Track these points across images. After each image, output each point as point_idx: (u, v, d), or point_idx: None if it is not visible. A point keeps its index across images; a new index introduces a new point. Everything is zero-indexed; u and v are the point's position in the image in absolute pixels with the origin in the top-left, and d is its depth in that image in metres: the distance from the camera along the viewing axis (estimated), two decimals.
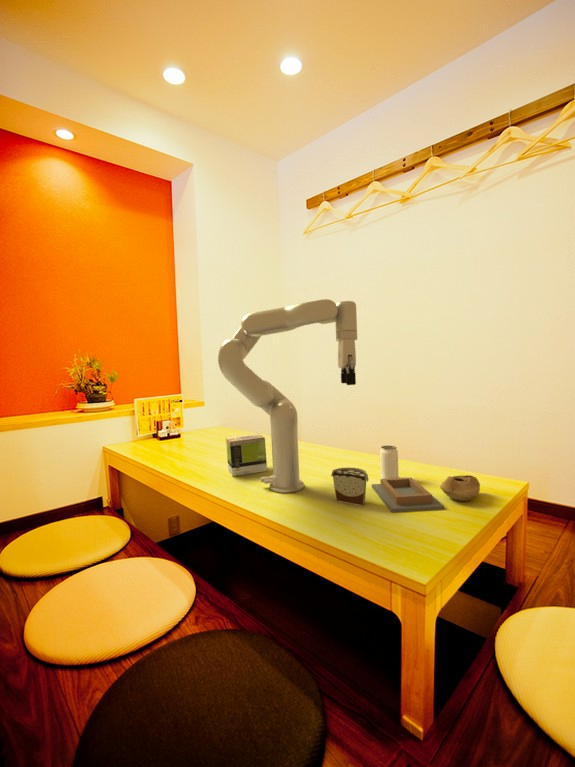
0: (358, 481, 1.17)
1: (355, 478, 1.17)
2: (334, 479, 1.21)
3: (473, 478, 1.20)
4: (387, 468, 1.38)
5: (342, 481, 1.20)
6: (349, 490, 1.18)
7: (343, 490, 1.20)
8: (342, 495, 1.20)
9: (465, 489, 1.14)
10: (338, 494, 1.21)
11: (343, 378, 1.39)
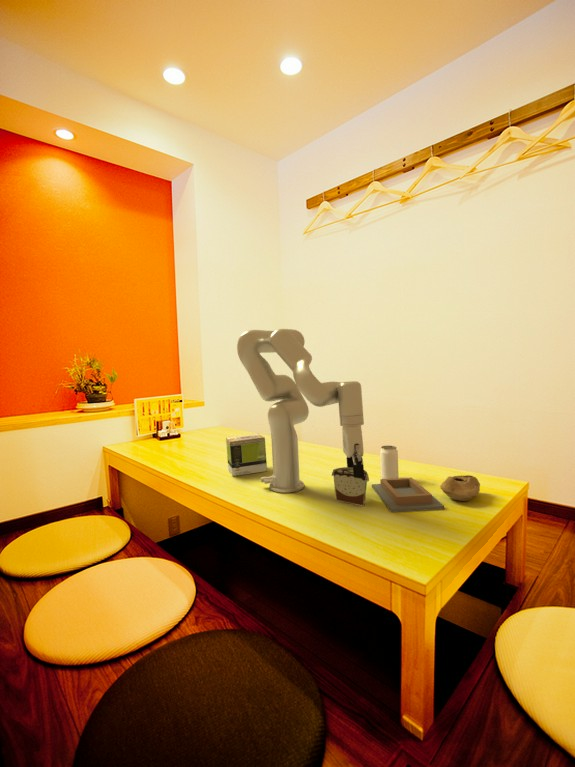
0: (359, 481, 1.17)
1: (356, 478, 1.17)
2: (334, 478, 1.21)
3: (473, 478, 1.20)
4: (387, 468, 1.38)
5: (342, 481, 1.20)
6: (350, 489, 1.18)
7: (343, 490, 1.20)
8: (342, 495, 1.20)
9: (465, 489, 1.14)
10: (338, 494, 1.21)
11: (349, 463, 1.24)
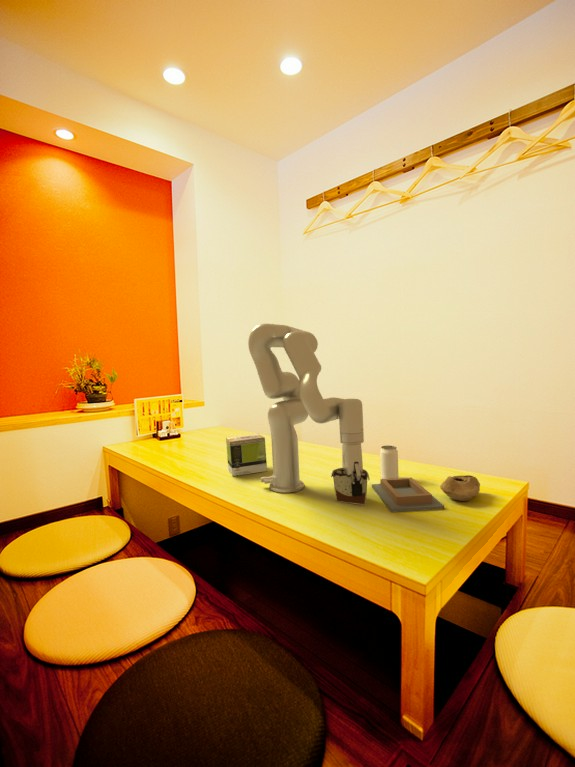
0: None
1: None
2: (334, 479, 1.21)
3: (473, 478, 1.20)
4: (387, 468, 1.38)
5: (342, 481, 1.20)
6: (350, 489, 1.19)
7: (344, 490, 1.20)
8: (342, 495, 1.20)
9: (465, 489, 1.14)
10: (338, 494, 1.20)
11: None
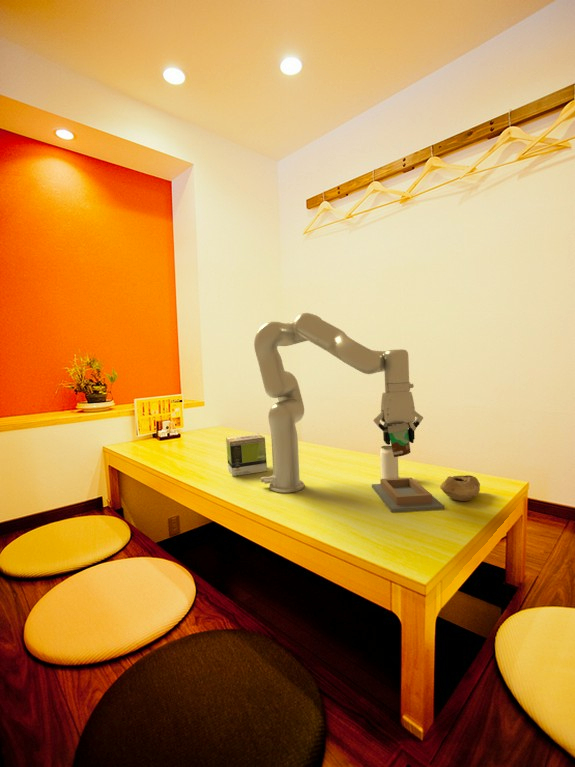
0: None
1: None
2: None
3: (473, 478, 1.20)
4: (387, 468, 1.38)
5: None
6: None
7: None
8: None
9: (465, 489, 1.14)
10: None
11: None
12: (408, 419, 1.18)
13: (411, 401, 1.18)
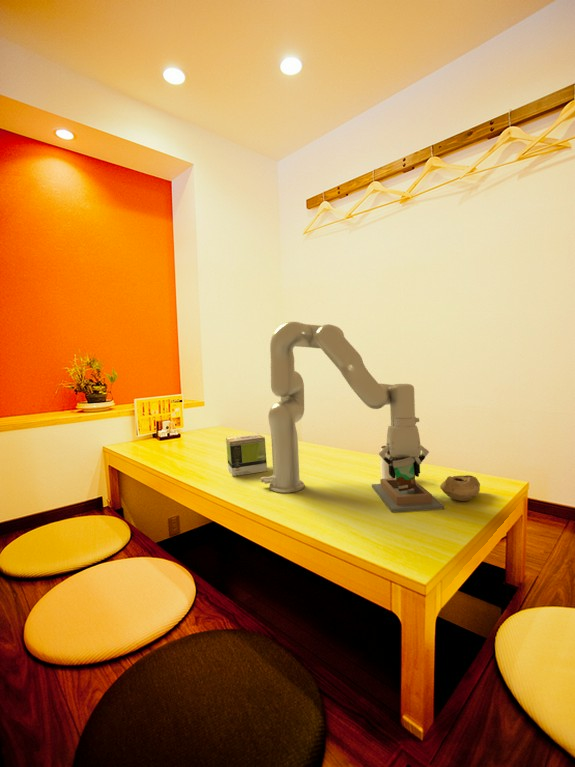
0: None
1: None
2: None
3: (473, 478, 1.20)
4: (387, 468, 1.38)
5: None
6: None
7: None
8: None
9: (465, 489, 1.14)
10: None
11: None
12: (413, 454, 1.19)
13: (417, 436, 1.19)
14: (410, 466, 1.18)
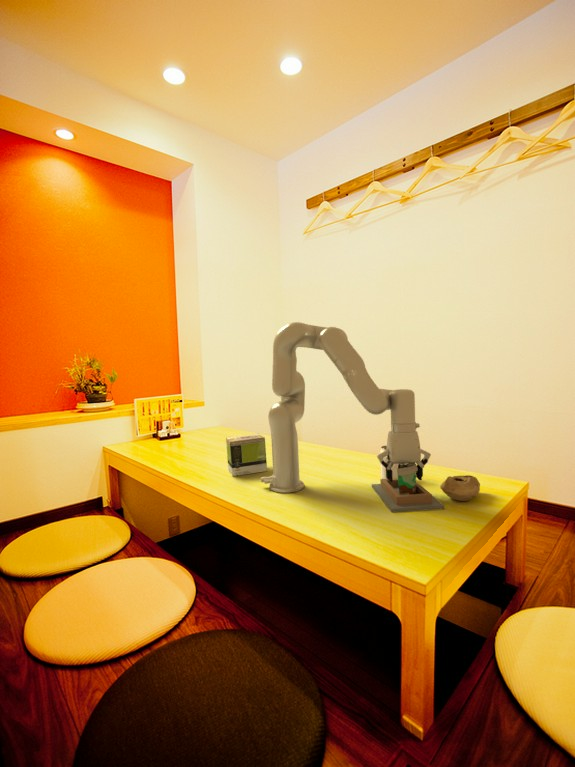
0: None
1: None
2: None
3: (473, 478, 1.20)
4: None
5: None
6: None
7: None
8: None
9: (465, 489, 1.14)
10: None
11: (416, 472, 1.22)
12: (413, 459, 1.19)
13: (417, 441, 1.19)
14: (413, 474, 1.18)
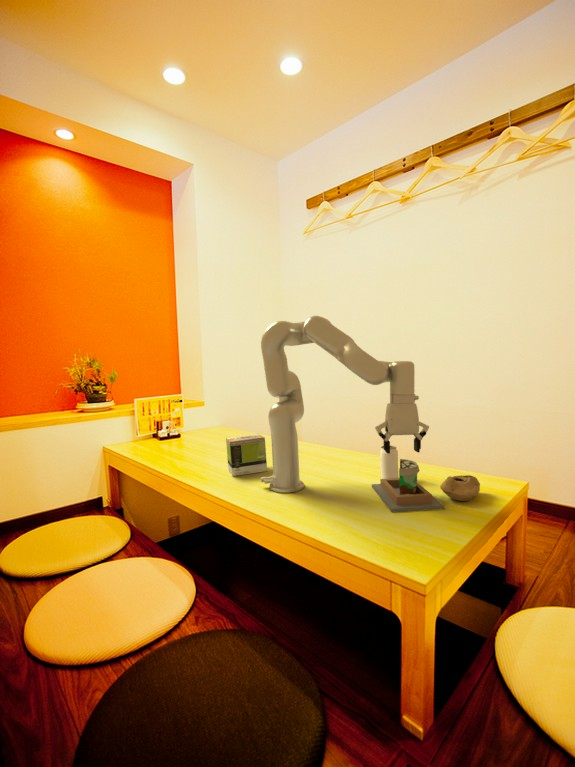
0: None
1: None
2: None
3: (473, 478, 1.20)
4: (387, 468, 1.38)
5: None
6: None
7: None
8: None
9: (465, 489, 1.14)
10: None
11: (414, 445, 1.22)
12: (411, 431, 1.19)
13: (415, 413, 1.18)
14: (415, 475, 1.18)
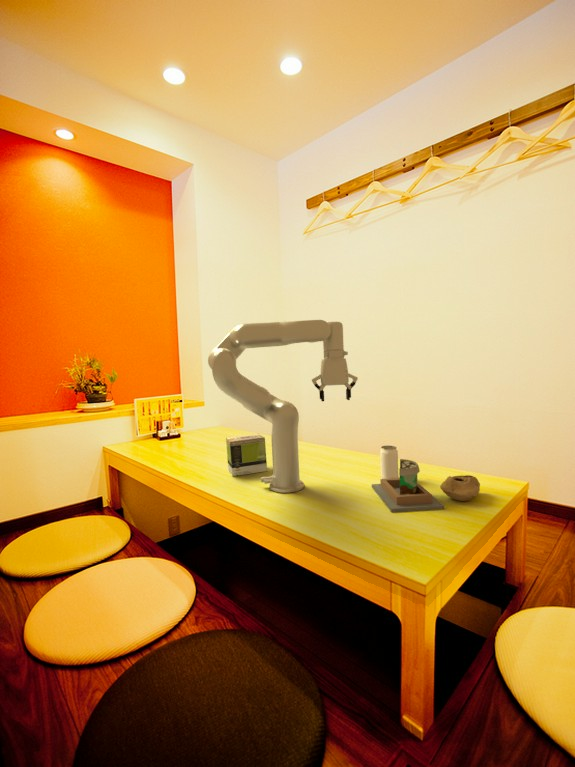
0: None
1: None
2: None
3: (473, 478, 1.20)
4: (387, 468, 1.38)
5: None
6: None
7: None
8: None
9: (465, 489, 1.14)
10: None
11: (346, 394, 1.42)
12: (341, 381, 1.39)
13: (344, 366, 1.38)
14: (415, 475, 1.18)
